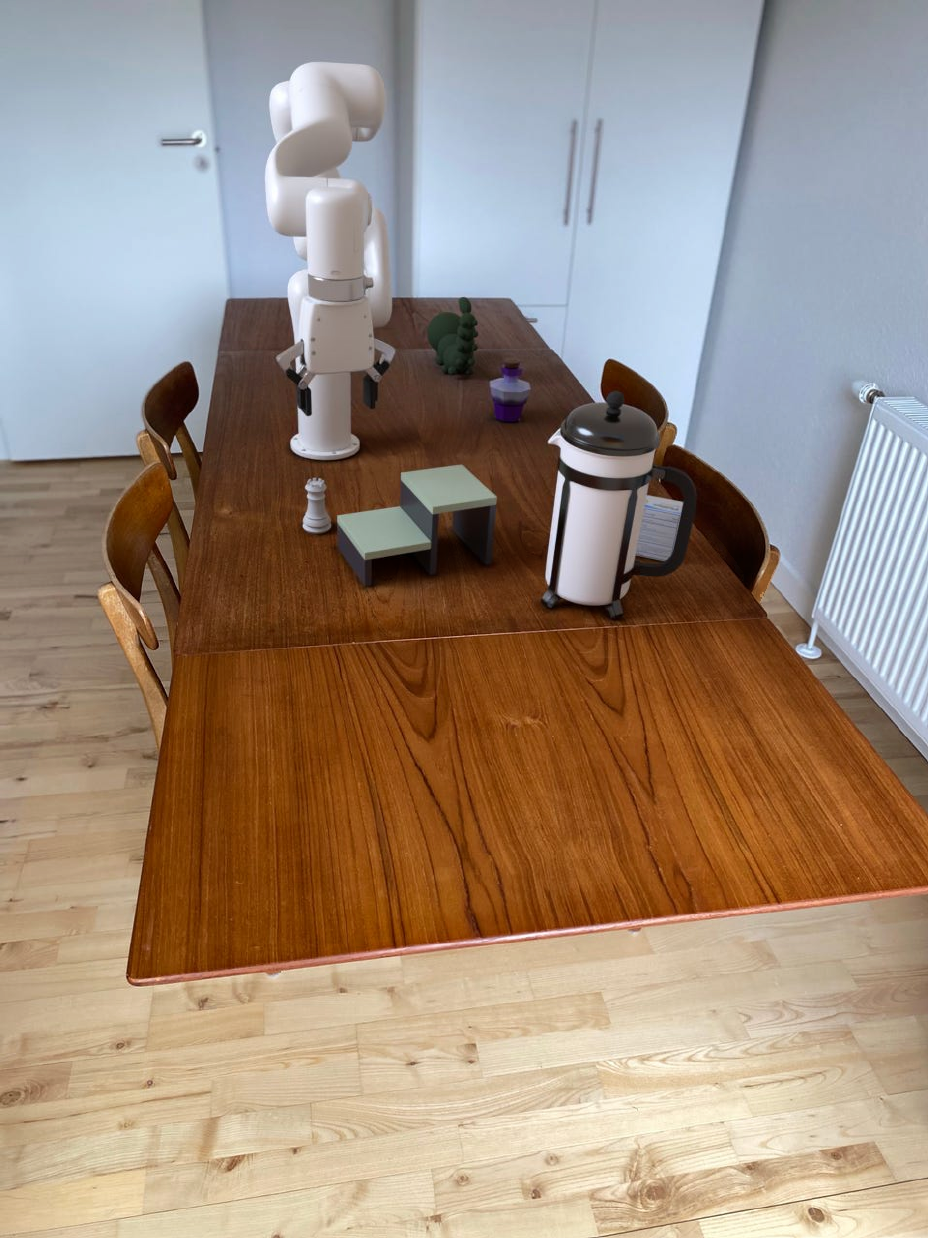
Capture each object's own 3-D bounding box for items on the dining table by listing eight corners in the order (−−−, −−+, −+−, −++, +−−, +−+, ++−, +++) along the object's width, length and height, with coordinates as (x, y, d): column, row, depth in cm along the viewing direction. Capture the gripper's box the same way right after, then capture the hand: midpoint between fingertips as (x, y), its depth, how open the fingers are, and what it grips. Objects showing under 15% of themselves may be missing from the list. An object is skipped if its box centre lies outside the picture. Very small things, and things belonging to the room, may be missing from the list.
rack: (337, 547, 139) (336, 481, 133) (457, 528, 147) (461, 464, 141) (364, 587, 130) (364, 517, 124) (491, 563, 138) (497, 497, 132)
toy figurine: (484, 390, 207) (456, 346, 225) (492, 306, 195) (462, 267, 214) (443, 392, 204) (418, 347, 223) (449, 307, 193) (423, 267, 211)
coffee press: (574, 637, 123) (606, 422, 106) (513, 580, 134) (535, 378, 118) (676, 611, 130) (722, 406, 114) (611, 558, 142) (644, 365, 125)
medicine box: (676, 551, 145) (686, 501, 140) (672, 564, 141) (682, 513, 136) (626, 541, 147) (635, 491, 142) (621, 553, 143) (630, 503, 138)
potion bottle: (515, 408, 194) (521, 351, 187) (535, 422, 188) (542, 364, 181) (479, 412, 191) (483, 354, 184) (498, 427, 184) (503, 368, 178)
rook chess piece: (303, 521, 146) (301, 474, 141) (332, 521, 146) (331, 475, 142) (301, 534, 142) (299, 487, 138) (331, 535, 143) (330, 487, 138)
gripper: (385, 278, 132) (383, 395, 141) (265, 284, 125) (272, 406, 134) (405, 291, 126) (403, 412, 135) (282, 298, 119) (288, 424, 128)
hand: (338, 409), depth 135 cm, fingers open, 9 cm apart
